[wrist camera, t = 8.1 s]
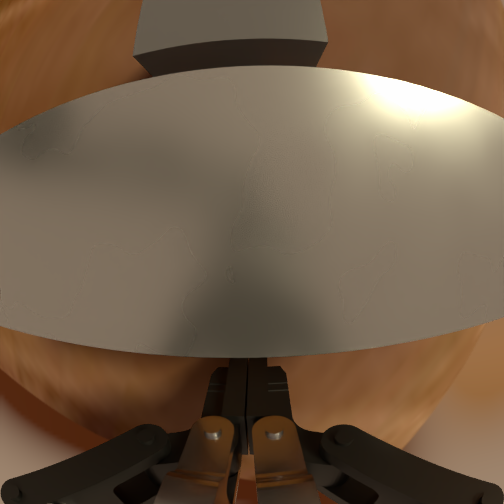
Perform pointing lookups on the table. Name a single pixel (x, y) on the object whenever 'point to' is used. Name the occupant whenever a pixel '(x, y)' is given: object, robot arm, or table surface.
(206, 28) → the plug
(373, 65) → the table surface
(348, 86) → the housing
